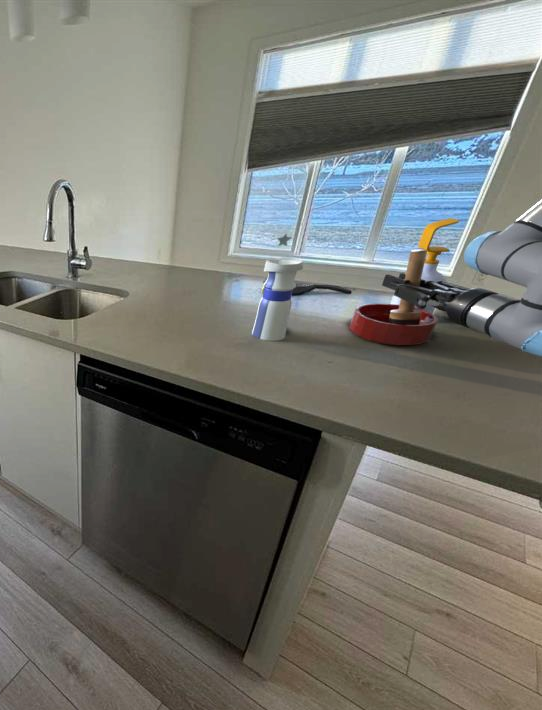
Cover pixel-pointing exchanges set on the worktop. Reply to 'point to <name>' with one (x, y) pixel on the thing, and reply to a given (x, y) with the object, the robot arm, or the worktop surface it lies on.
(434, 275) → the soap bottle
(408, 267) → the dish brush
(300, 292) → the hairbrush
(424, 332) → the red bowl
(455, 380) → the worktop surface
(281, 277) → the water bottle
